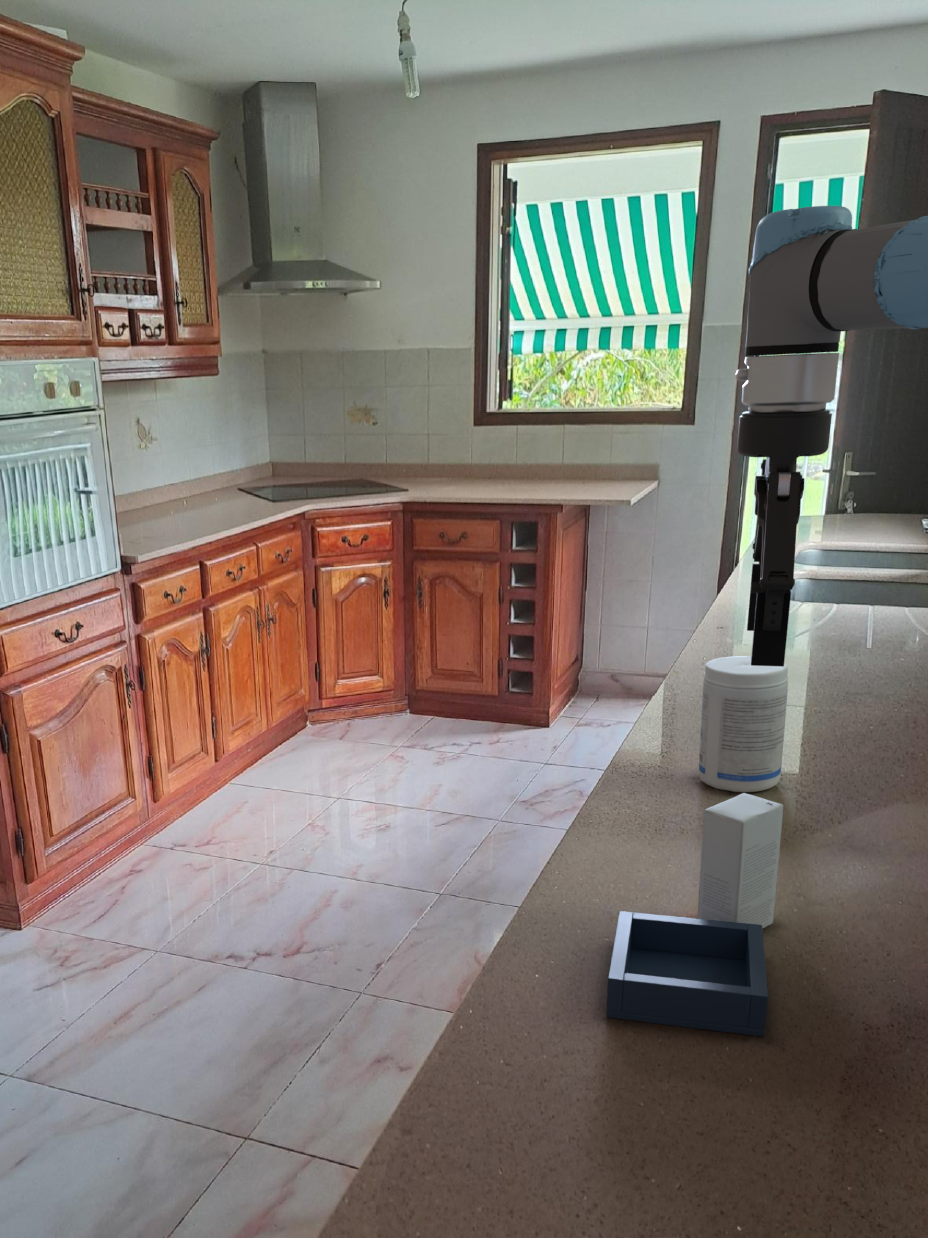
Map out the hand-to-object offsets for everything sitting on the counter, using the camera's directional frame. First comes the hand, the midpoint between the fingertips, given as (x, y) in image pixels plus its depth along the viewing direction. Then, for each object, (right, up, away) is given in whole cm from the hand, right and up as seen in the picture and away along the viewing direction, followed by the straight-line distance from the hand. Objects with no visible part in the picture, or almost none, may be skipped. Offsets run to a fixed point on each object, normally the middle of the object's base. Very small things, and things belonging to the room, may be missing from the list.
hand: (764, 647), depth 104 cm
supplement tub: (+9, -13, +33) cm, 36 cm away
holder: (-11, -30, -11) cm, 34 cm away
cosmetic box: (-4, -26, -2) cm, 26 cm away
